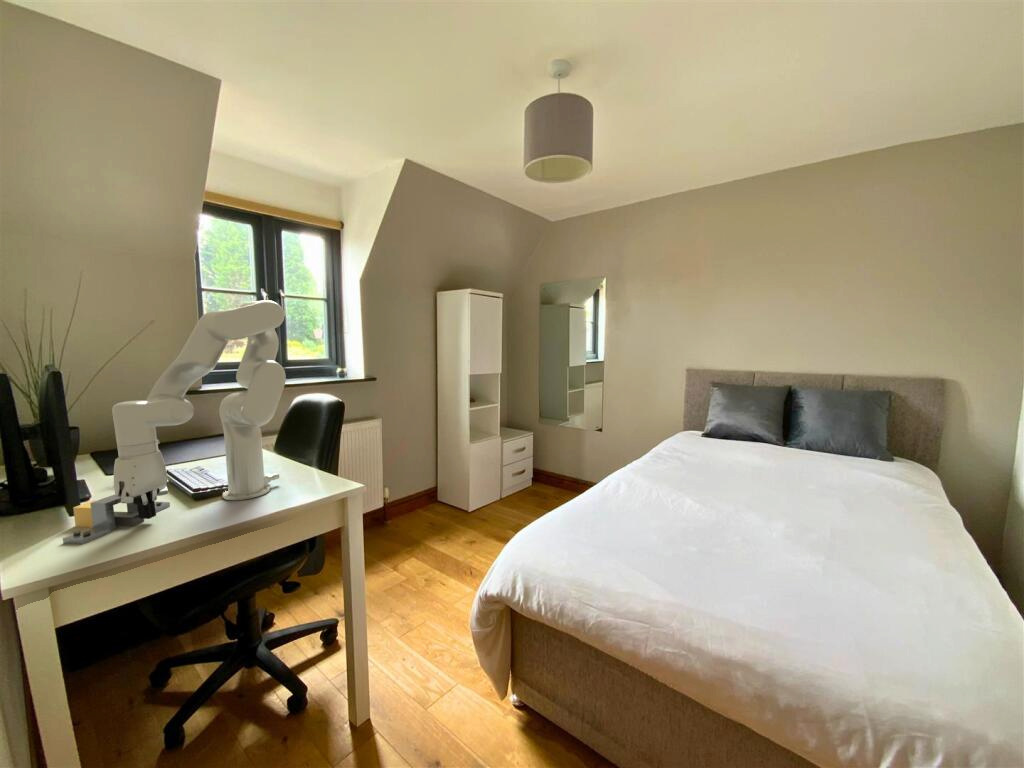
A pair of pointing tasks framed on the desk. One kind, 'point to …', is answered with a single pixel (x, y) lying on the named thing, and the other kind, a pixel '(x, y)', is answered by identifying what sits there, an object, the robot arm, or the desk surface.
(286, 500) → the desk surface
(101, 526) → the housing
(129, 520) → the plug
